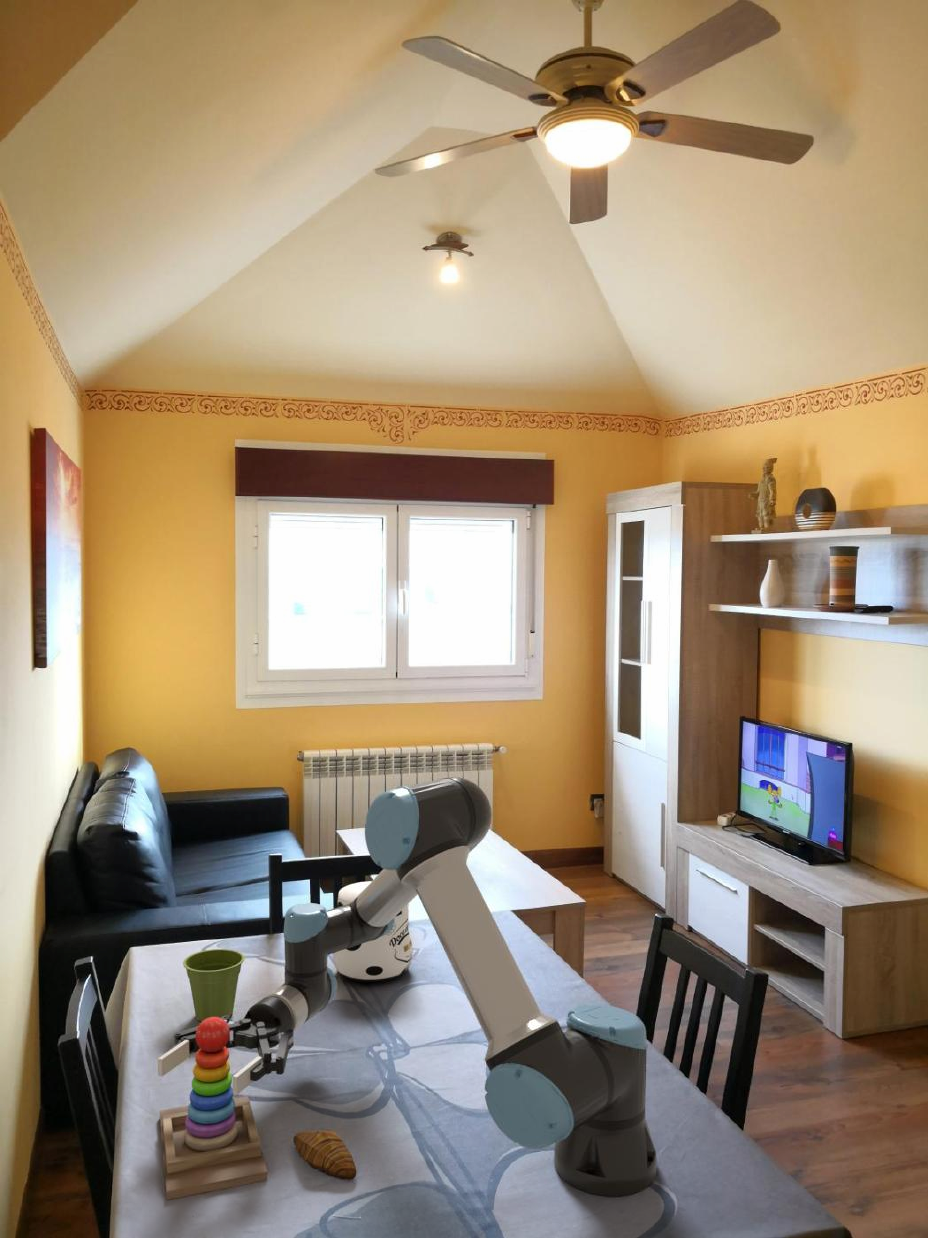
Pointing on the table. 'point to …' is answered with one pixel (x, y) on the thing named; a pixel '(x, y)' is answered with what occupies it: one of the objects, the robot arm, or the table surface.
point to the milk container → (375, 947)
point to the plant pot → (213, 981)
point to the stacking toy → (211, 1090)
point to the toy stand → (210, 1155)
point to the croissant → (326, 1153)
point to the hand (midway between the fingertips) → (196, 1076)
